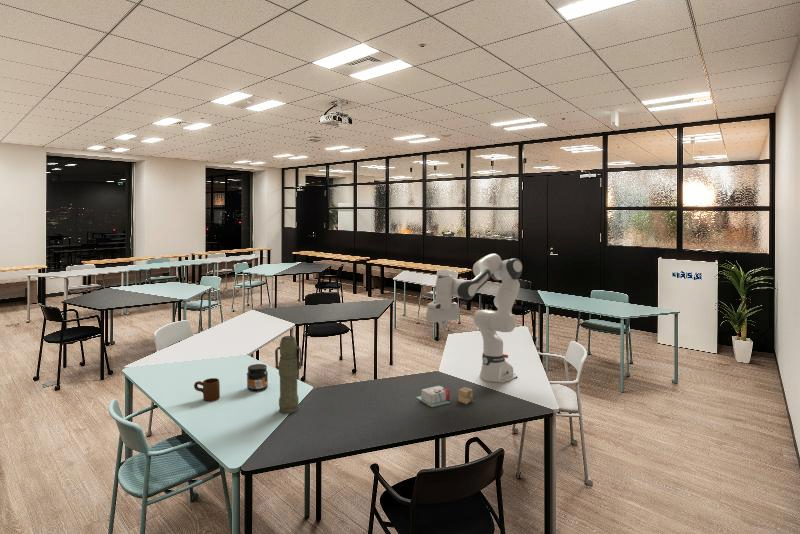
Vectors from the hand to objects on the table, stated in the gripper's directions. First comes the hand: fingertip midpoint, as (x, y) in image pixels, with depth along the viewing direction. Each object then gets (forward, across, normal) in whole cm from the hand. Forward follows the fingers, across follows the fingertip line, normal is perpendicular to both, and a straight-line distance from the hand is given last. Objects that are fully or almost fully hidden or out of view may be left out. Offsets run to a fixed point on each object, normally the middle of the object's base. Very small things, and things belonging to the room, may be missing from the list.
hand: (442, 329), depth 248 cm
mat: (+31, +17, +16) cm, 39 cm away
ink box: (+28, +10, +16) cm, 34 cm away
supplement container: (+31, +89, -43) cm, 104 cm away
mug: (+31, +114, -41) cm, 125 cm away
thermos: (+31, +84, -8) cm, 90 cm away
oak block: (+31, +4, +25) cm, 40 cm away
